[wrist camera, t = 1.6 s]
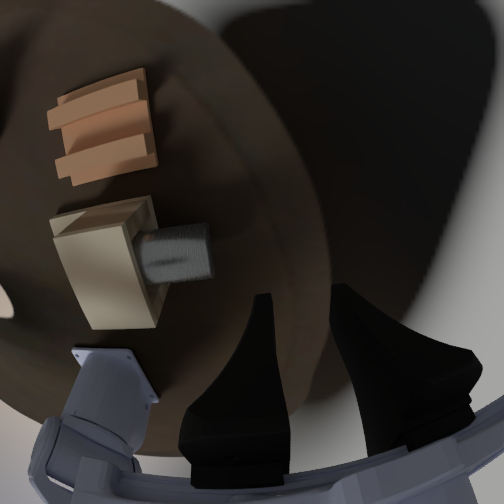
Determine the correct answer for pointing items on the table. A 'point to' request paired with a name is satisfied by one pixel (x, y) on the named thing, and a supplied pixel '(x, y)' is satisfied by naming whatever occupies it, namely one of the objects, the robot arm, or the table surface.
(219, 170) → the table surface
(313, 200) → the table surface
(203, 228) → the axle
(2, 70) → the table surface
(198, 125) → the table surface
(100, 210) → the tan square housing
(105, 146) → the cradle
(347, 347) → the robot arm
